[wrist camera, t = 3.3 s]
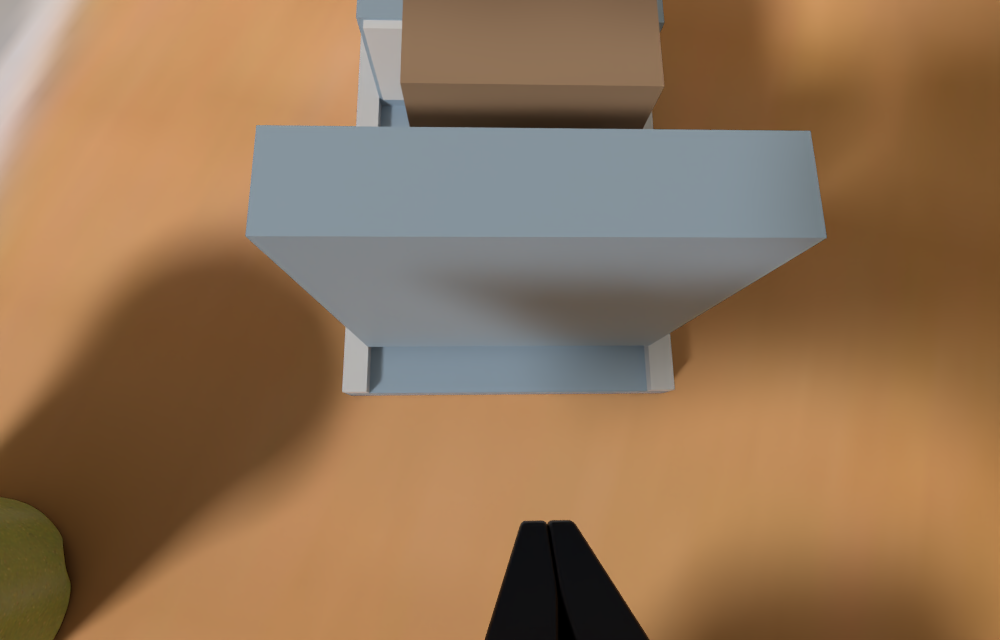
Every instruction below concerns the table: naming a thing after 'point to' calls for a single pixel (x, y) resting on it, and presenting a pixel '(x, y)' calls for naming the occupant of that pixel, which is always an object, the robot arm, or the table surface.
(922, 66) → the table surface
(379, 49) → the fixed jaw
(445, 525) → the table surface
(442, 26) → the block
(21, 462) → the table surface
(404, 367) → the light blue base plate
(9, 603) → the plant pot
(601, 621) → the robot arm
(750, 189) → the jaw
